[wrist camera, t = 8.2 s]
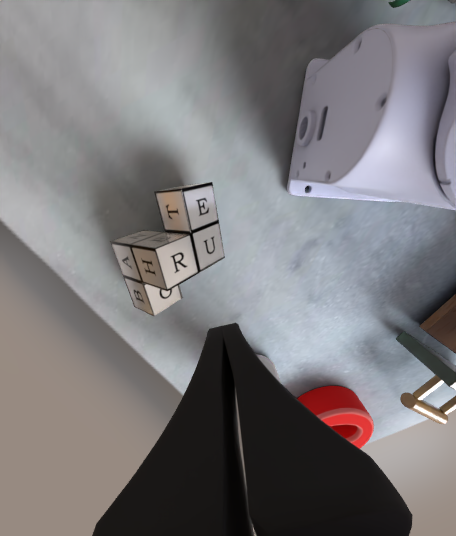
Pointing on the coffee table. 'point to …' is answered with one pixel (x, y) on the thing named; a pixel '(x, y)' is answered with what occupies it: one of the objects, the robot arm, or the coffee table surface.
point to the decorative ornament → (340, 412)
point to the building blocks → (171, 247)
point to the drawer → (434, 362)
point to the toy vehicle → (402, 0)
